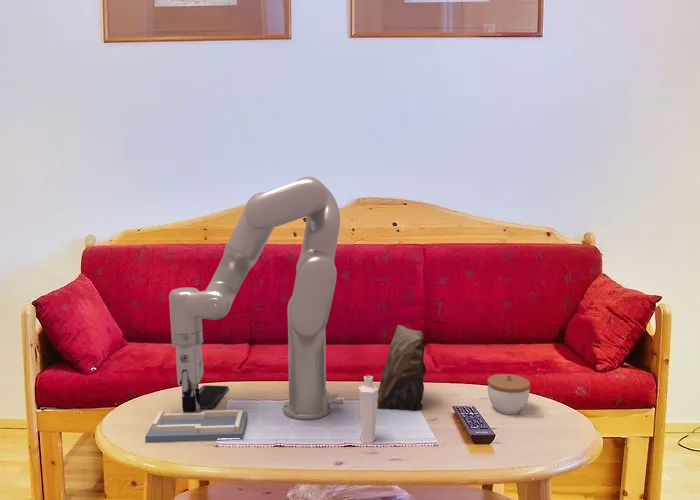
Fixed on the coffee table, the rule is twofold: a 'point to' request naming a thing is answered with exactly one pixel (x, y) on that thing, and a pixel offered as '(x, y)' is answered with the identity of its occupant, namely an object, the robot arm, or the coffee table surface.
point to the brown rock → (403, 372)
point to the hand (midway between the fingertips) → (191, 406)
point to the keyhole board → (197, 426)
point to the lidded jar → (508, 392)
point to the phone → (211, 396)
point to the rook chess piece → (196, 401)
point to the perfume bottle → (368, 409)
